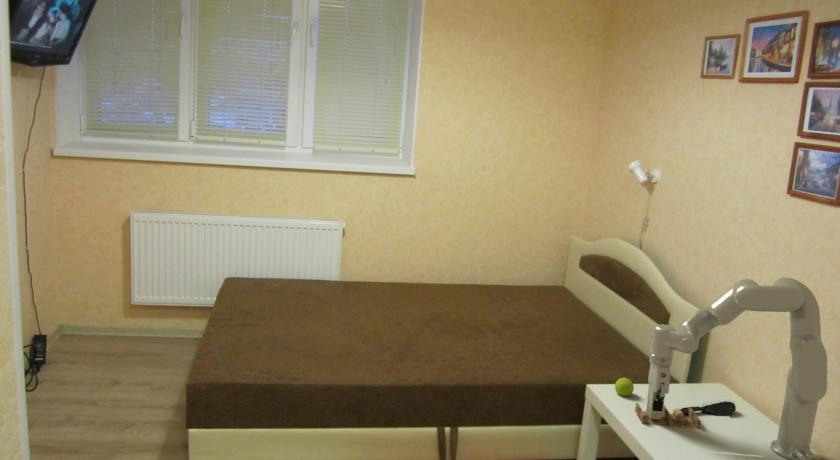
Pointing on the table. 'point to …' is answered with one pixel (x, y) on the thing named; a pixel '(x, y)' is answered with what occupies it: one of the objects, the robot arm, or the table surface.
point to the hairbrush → (714, 408)
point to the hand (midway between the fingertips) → (654, 405)
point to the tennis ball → (624, 387)
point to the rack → (668, 418)
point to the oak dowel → (680, 417)
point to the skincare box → (650, 401)
